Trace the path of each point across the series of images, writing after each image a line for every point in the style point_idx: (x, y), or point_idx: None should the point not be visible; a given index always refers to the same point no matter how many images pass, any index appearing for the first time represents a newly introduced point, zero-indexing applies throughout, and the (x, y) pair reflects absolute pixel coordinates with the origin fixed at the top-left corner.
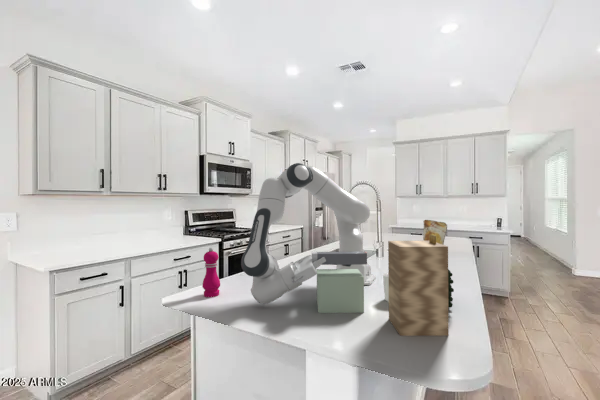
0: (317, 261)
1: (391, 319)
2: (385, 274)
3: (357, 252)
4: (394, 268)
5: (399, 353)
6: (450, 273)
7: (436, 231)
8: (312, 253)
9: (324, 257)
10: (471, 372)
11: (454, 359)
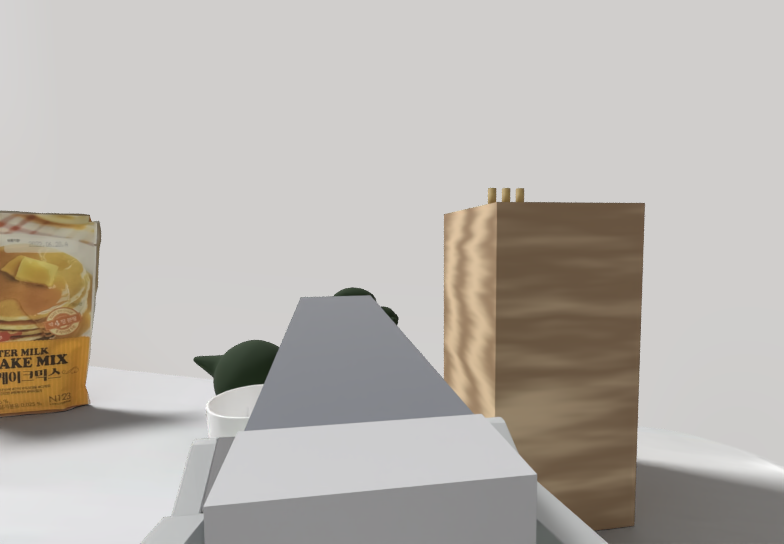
0: (586, 536)
1: None
2: (215, 418)
3: (336, 303)
4: (579, 302)
5: (780, 540)
6: (396, 315)
7: (45, 246)
8: (508, 466)
9: (490, 418)
10: (717, 447)
11: (681, 456)
